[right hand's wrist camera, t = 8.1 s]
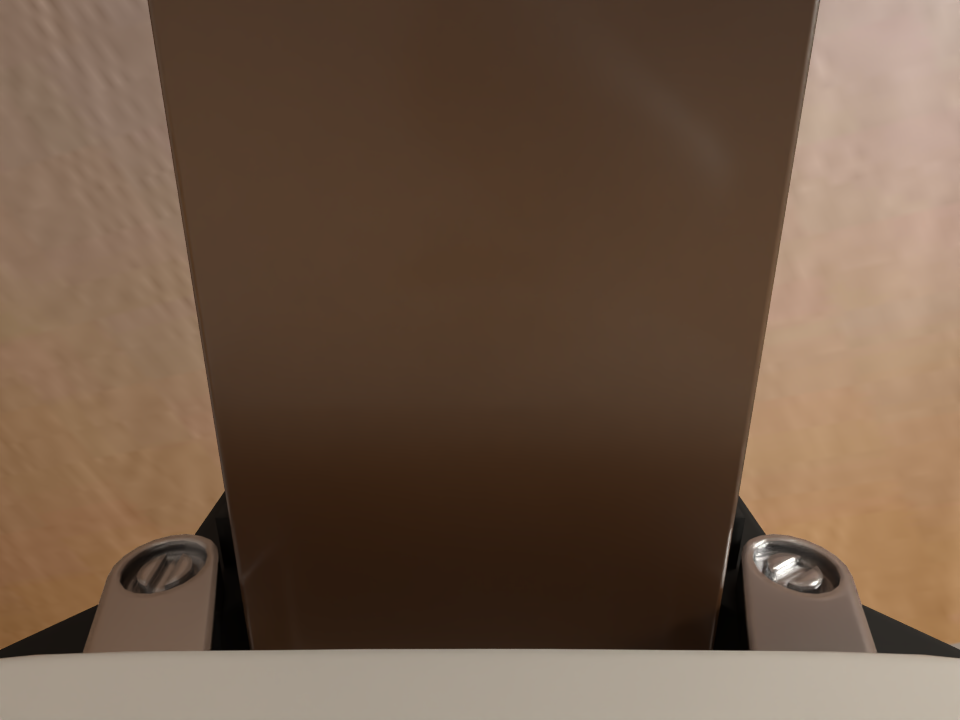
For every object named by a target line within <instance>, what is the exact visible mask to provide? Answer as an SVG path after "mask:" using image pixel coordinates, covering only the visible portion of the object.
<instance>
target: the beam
mask: <svg viewBox="0 0 960 720" xmlns="http://www.w3.org/2000/svg"><path fill="white" fill-rule="evenodd" d="M819 3H820V0H148V6H149V12H150V19H151V25H152V31H153V38H154V44H155V50H156V57H157V63H158V69H159V76H160V82H161V88H162V95H163V101H164V107H165V114H166V120H167V126H168V133H169V139H170V145H171V152H172V158H173V164H174V171H175V177H176V183H177V190H178V196H179V202H180V209H181V215H182V221H183V228H184V234H185V241H186V247H187V253H188V260H189V266H190V272H191V279H192V285H193V291H194V298H195V304H196V310H197V317H198V323H199V329H200V336H201V342H202V348H203V355H204V361H205V367H206V374H207V380H208V386H209V393H210V399H211V405H212V412H213V418H214V424H215V431H216V437H217V443H218V450H219V456H220V462H221V469H222V475H223V481H224V488H225V494H226V500H227V507H228V513H229V519H230V526H231V532H232V538H233V545H234V551H235V557H236V564H237V570H238V576H239V583H240V589H241V595H242V602H243V608H244V614H245V621H246V627H247V633H248V640H249V646H250V650H337V649H603V650H713V648H714V642H715V635H716V629H717V623H718V617H719V611H720V605H721V599H722V593H723V587H724V581H725V575H726V569H727V562H728V556H729V550H730V544H731V538H732V532H733V526H734V520H735V514H736V508H737V502H738V496H739V490H740V483H741V477H742V471H743V465H744V459H745V453H746V447H747V441H748V435H749V429H750V423H751V417H752V410H753V404H754V398H755V392H756V386H757V380H758V374H759V368H760V362H761V356H762V350H763V344H764V337H765V331H766V325H767V319H768V313H769V307H770V301H771V295H772V289H773V283H774V277H775V271H776V265H777V258H778V252H779V246H780V240H781V234H782V228H783V222H784V216H785V210H786V204H787V198H788V192H789V185H790V179H791V173H792V167H793V161H794V155H795V149H796V143H797V137H798V131H799V125H800V119H801V112H802V106H803V100H804V94H805V88H806V82H807V76H808V70H809V64H810V58H811V52H812V46H813V40H814V33H815V27H816V21H817V15H818V9H819Z"/></svg>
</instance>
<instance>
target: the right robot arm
mask: <svg viewBox="0 0 960 720" xmlns="http://www.w3.org/2000/svg"><path fill="white" fill-rule="evenodd" d="M0 720H960V650H959V649H957V648H955V647H953V646H951V645H948V644H946V643H944V642H942V641H940V640H938V639H935V638H933V637H931V636H929V635H927V634H925V633H923V632H920V631H918V630H916V629H914V628H912V627H910V626H907V625H905V624H903V623H901V622H899V621H897V620H894V619H892V618H890V617H888V616H886V615H884V614H882V613H879V612H877V611H875V610H873V609H871V608H869V607H866V606H864V605H862V604H861V601H860V598H859V595H858V592H857V589H856V586H855V583H854V580H853V577H852V575H851V573H850V572H849V570H848V568H847V566H846V565H845V564H844V563H843V562H842V561H841V560H839V559H838V558H837V557H836V556H835V555H834V554H832V553H830V552H829V551H827V550H826V549H824V548H823V547H821V546H818V545H816V544H814V543H811V542H809V541H807V540H804V539H800V538H796V537H792V536H787V535H776V534H771V535H766V534H765V533H764V531H763V530H762V528H761V527H760V526H759V524H758V523H757V521H756V520H755V518H754V517H753V515H752V514H751V512H750V511H749V510H748V508H747V507H746V505H745V504H744V502H743V501H742V499H741V498H740V497H739V496H738V502H737V508H736V514H735V520H734V526H733V532H732V538H731V544H730V550H729V556H728V562H727V569H726V575H725V581H724V587H723V593H722V599H721V605H720V611H719V617H718V623H717V629H716V635H715V642H714V648H713V650H603V649H337V650H250V646H249V640H248V633H247V627H246V621H245V614H244V608H243V602H242V595H241V589H240V583H239V576H238V570H237V564H236V557H235V551H234V545H233V538H232V532H231V526H230V519H229V513H228V507H227V500H226V494H225V492H224V493H223V494H222V496H221V497H220V499H219V500H218V502H217V503H216V505H215V506H214V507H213V509H212V510H211V512H210V513H209V515H208V516H207V518H206V519H205V521H204V522H203V523H202V525H201V526H200V528H199V529H198V531H197V532H196V534H195V535H189V534H184V535H173V536H168V537H164V538H160V539H156V540H153V541H151V542H149V543H146V544H144V545H142V546H139V547H137V548H136V549H134V550H133V551H131V552H130V553H128V554H126V555H125V556H124V557H123V558H122V559H121V560H119V561H118V562H117V563H116V564H115V565H114V566H113V568H112V570H111V572H110V573H109V575H108V577H107V580H106V583H105V586H104V589H103V592H102V595H101V598H100V601H99V604H98V605H96V606H94V607H92V608H90V609H88V610H85V611H83V612H81V613H79V614H77V615H75V616H72V617H70V618H68V619H66V620H64V621H62V622H59V623H57V624H55V625H53V626H51V627H49V628H46V629H44V630H42V631H40V632H38V633H36V634H34V635H31V636H29V637H27V638H25V639H23V640H21V641H18V642H16V643H14V644H12V645H10V646H8V647H5V648H3V649H1V650H0Z"/></svg>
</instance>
